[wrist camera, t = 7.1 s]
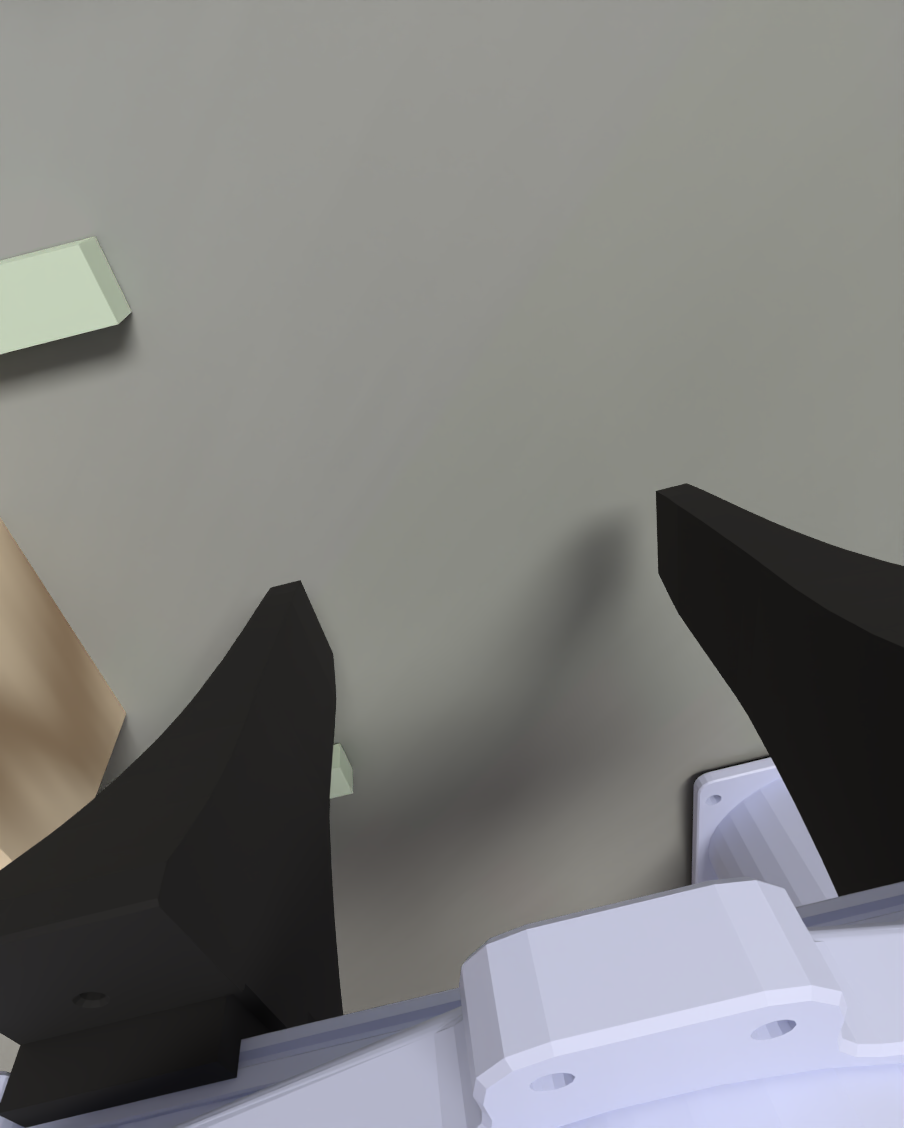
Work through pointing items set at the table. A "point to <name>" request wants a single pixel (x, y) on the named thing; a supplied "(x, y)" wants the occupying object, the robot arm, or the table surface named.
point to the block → (45, 711)
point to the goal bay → (74, 306)
